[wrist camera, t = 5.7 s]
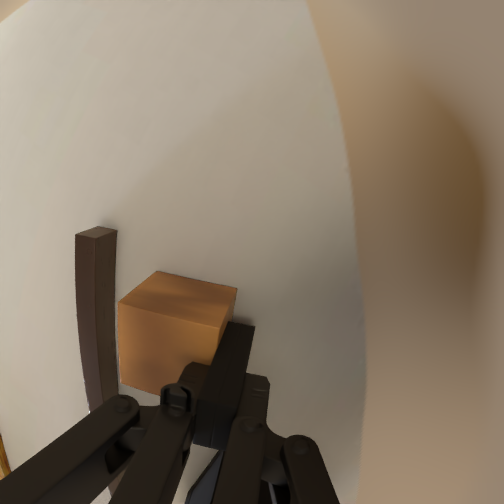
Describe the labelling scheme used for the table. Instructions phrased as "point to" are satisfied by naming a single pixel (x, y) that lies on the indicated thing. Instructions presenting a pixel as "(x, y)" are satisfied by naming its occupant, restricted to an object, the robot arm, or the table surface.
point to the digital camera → (206, 484)
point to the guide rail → (97, 316)
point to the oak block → (170, 328)
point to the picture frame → (3, 462)
